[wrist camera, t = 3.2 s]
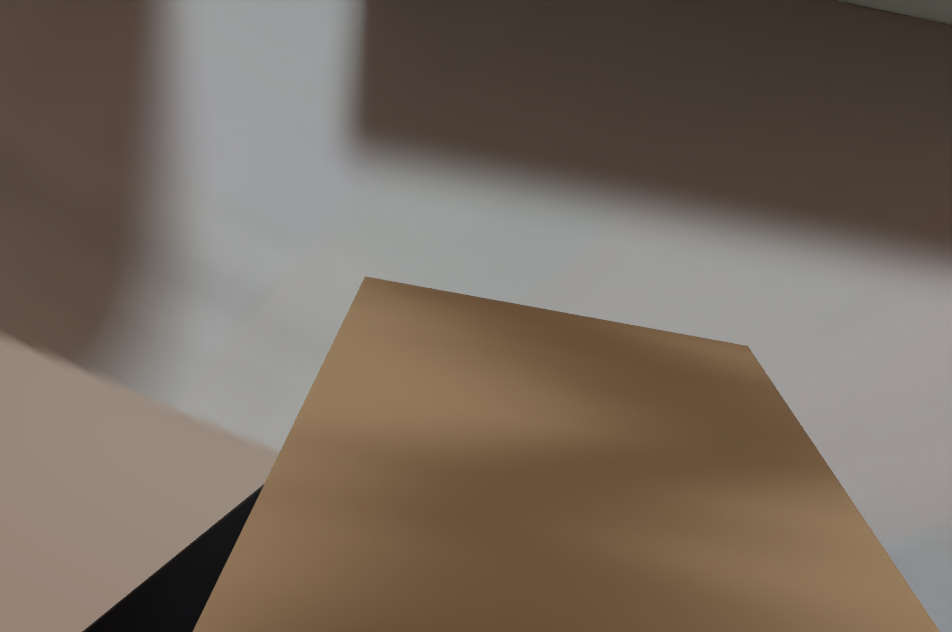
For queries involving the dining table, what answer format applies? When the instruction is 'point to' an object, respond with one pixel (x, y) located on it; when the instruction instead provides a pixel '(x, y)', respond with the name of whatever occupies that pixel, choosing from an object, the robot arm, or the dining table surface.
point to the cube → (548, 488)
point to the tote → (912, 8)
